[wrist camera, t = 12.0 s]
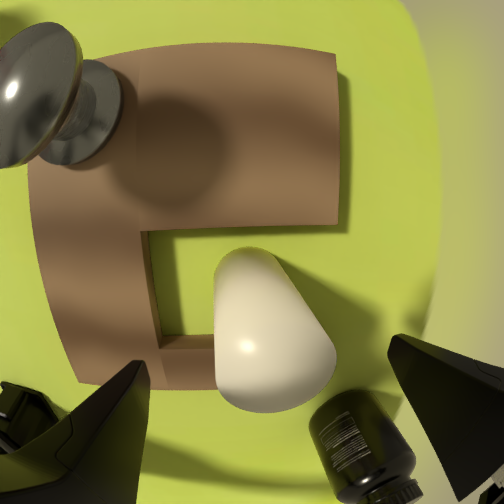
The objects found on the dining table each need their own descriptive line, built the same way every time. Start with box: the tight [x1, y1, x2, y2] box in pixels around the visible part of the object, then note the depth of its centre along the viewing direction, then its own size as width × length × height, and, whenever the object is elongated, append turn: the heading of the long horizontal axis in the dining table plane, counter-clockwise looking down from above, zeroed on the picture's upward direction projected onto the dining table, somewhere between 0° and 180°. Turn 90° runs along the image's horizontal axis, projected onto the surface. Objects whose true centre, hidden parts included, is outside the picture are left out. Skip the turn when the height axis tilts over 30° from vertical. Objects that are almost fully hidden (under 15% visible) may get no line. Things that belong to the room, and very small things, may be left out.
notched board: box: [28, 43, 340, 390], centre depth 14 cm, size 20×17×2 cm
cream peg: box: [214, 247, 337, 413], centre depth 12 cm, size 4×4×8 cm
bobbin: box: [0, 22, 124, 169], centre depth 8 cm, size 6×6×6 cm
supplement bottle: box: [309, 390, 423, 504], centre depth 15 cm, size 7×7×12 cm
